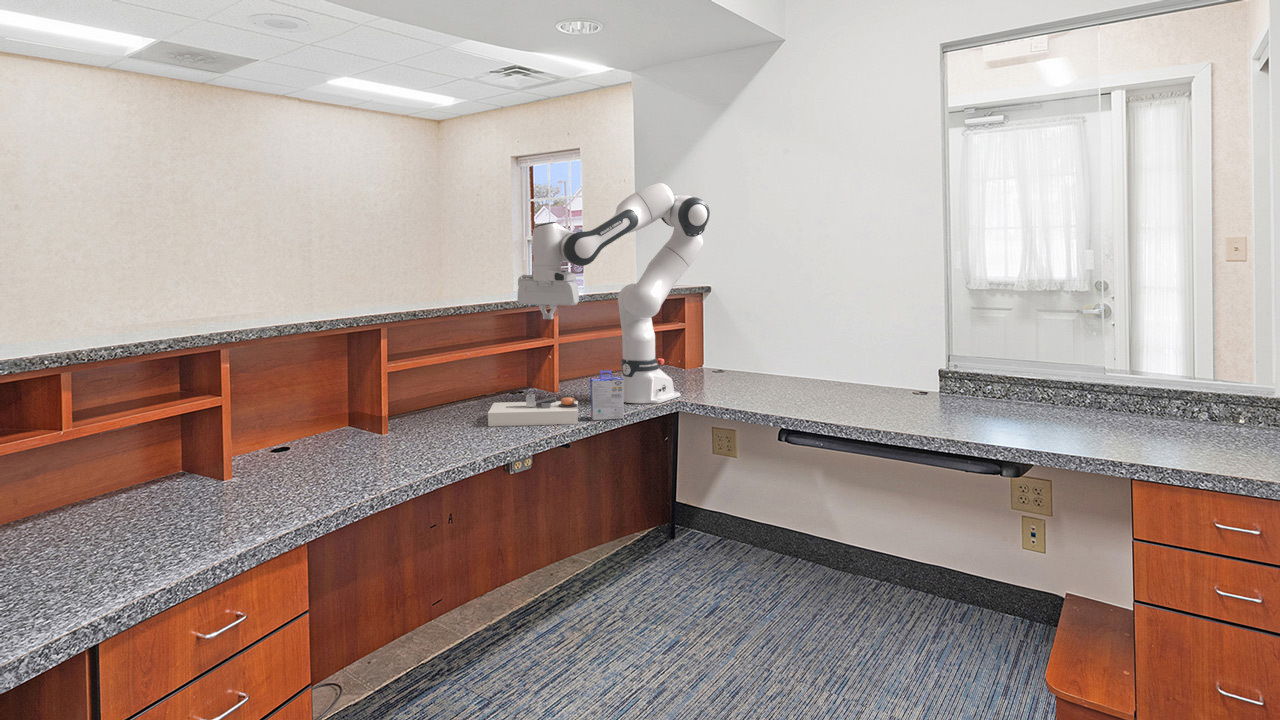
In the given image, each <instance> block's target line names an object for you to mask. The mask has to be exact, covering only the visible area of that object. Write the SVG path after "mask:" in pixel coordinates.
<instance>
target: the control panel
mask: <svg viewBox="0 0 1280 720" xmlns="http://www.w3.org/2000/svg"><path fill="white" fill-rule="evenodd" d="M487 420H488V421H487V424H488V425H487V427H508V426H509V427H512V426H513V427H517V426H518V427H519V426H552V425H553V426H554V425H555V426H558V425H557V424H561V425H578V424H579V401H578V400H574V404H573V405H561V400H559V401H558V400H556V402H554V403H542V405H541V406H537V407H536V401H535V407H526V401H512V402H511V401H509V402H508V401H505V402H501V401H499V402H493V403H492V405H491V407H490V409H489V410H488V412H487Z"/></svg>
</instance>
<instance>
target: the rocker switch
mask: <svg viewBox="0 0 1280 720" xmlns="http://www.w3.org/2000/svg"><path fill="white" fill-rule="evenodd" d="M556 401H557V396H551V397H547V398H543V399H539V400H535V402H536V407H537V406H541V405H542V403H554V402H556Z"/></svg>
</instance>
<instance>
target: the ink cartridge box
mask: <svg viewBox="0 0 1280 720" xmlns="http://www.w3.org/2000/svg"><path fill="white" fill-rule="evenodd" d="M604 373H609V374H604ZM589 389H590V418H591V420H592V421H601V420H602V421H603V420H604V421H605V420H618V419H622V420H624V418H625V409H624V408H625V405H624V403H625V402H624V398H623V379H622V376H613V372H612V369H610V370H609V369H608V370H607V369H606V370H603V369H601V370H599V377H598V378H596V377H594V378H589Z"/></svg>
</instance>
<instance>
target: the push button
mask: <svg viewBox="0 0 1280 720" xmlns="http://www.w3.org/2000/svg"><path fill="white" fill-rule="evenodd" d="M560 401H561V405H573V404H574V401H575V397H570V396H568V397H561V398H560Z"/></svg>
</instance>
